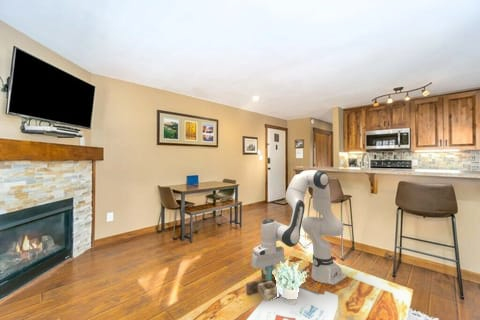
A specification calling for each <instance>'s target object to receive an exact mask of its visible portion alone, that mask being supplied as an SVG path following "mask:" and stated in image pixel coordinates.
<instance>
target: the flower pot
mask: <svg viewBox="0 0 480 320" xmlns="http://www.w3.org/2000/svg"><path fill="white" fill-rule="evenodd" d="M271 268H272V265H271ZM275 269H276V270H277V266H276V267H275ZM265 270H266V267H265ZM260 271H261V272H260V273H261V279H264V278H266V274H264V273H263V269H262V268H260ZM272 276H274V275H273V274H272V273H271V277H272Z"/></svg>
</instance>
